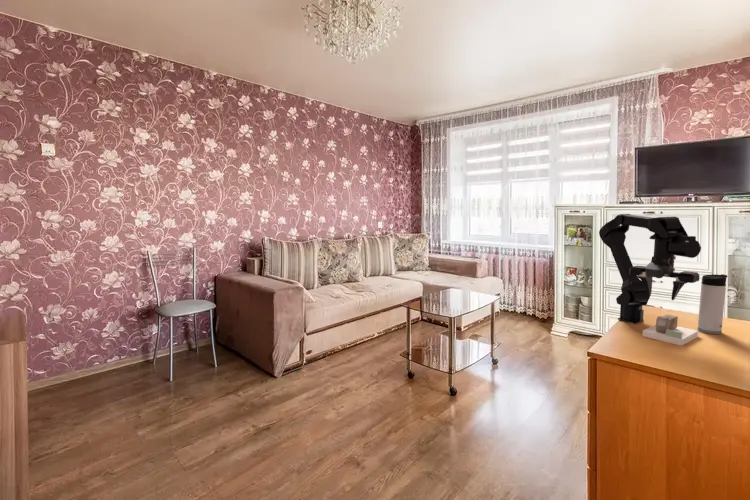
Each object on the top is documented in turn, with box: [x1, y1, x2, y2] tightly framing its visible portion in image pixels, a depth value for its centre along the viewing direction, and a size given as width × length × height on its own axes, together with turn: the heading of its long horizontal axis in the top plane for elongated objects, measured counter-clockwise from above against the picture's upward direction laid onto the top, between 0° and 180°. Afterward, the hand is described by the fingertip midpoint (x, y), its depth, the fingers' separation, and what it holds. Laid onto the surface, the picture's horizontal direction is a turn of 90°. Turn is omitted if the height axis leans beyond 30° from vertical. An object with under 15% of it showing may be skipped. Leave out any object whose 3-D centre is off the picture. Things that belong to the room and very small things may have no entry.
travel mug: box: [697, 274, 728, 335], centre depth 131 cm, size 6×7×20 cm
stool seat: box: [641, 324, 699, 346], centre depth 129 cm, size 11×14×4 cm
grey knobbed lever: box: [655, 313, 679, 333], centre depth 129 cm, size 9×3×5 cm, turn 123°
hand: (660, 298), depth 132 cm, fingers open, 7 cm apart
